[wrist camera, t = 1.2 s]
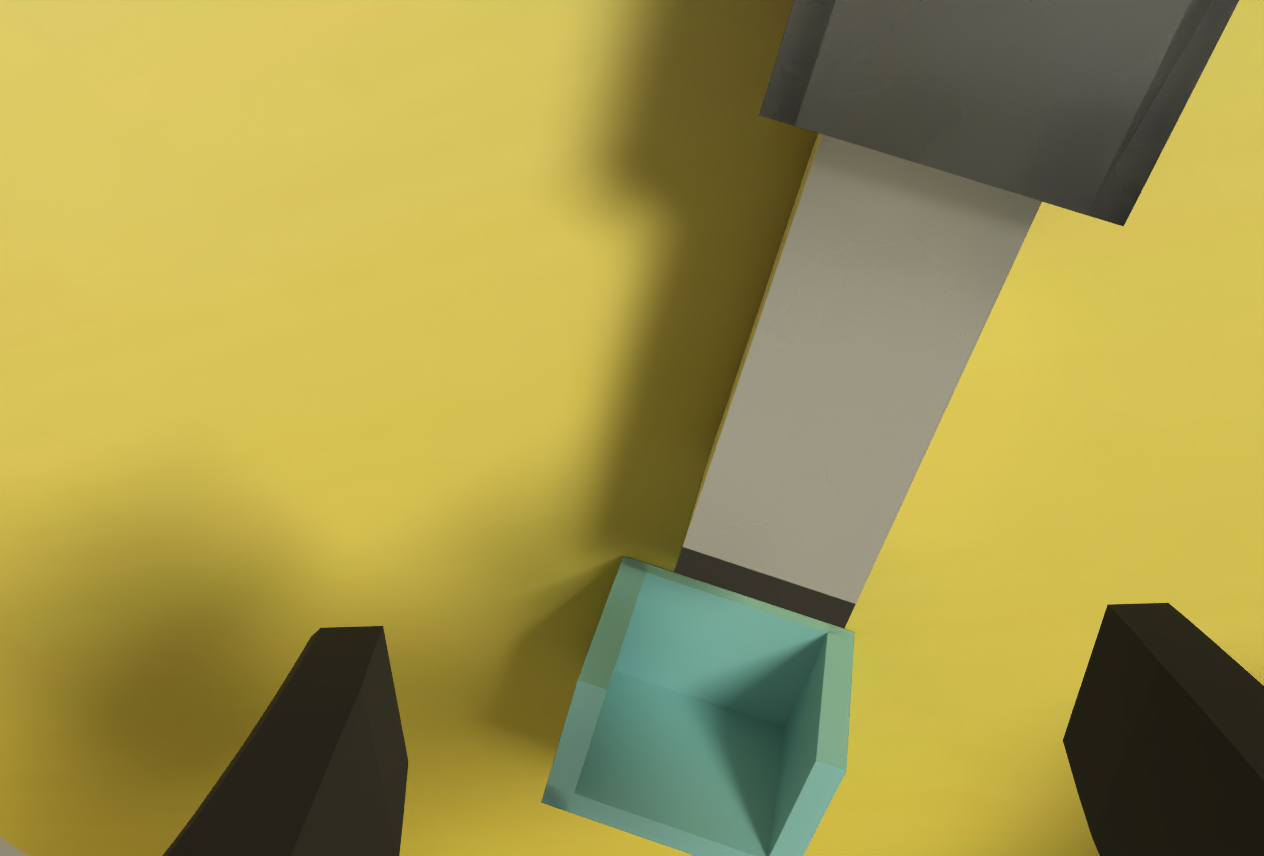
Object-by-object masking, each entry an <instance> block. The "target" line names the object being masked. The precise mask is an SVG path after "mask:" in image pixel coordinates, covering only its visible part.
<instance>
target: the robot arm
mask: <svg viewBox="0 0 1264 856" xmlns="http://www.w3.org/2000/svg"><path fill="white" fill-rule="evenodd" d="M1063 742H1064V746H1065V749H1066V753H1067V756H1068V760H1069V763H1070V767H1071V770H1072V774H1073V777H1074V781H1075V784H1076V788H1077V791H1078V795H1079V798H1080V801H1081V804H1082V807H1083V810H1084V813H1085V816H1086V820H1087V823H1088V826H1089V829H1090V832H1091V835H1092V838H1093V840H1094V843H1095V845H1096V847H1097V850H1098V852H1099V855H1100V856H1264V686H1263V685H1262V684H1261V683H1260V682H1259V681H1257V680H1256V679H1255V678H1254V677H1253V676H1252V675H1251V674H1250V673H1248V672H1247V671H1246V670H1245V669H1244V668H1243V667H1242V666H1240V665H1239V664H1238V663H1237V662H1236V661H1235V660H1234V659H1233V658H1231V657H1230V656H1229V655H1228V654H1227V653H1226V652H1225V651H1223V650H1222V649H1221V648H1220V647H1219V646H1218V645H1217V644H1216V643H1214V642H1213V641H1212V640H1211V639H1210V638H1209V637H1208V636H1206V635H1205V634H1204V633H1203V632H1202V631H1201V630H1200V629H1198V628H1197V627H1196V626H1195V625H1194V624H1193V623H1191V622H1190V621H1189V620H1188V619H1187V618H1186V617H1184V616H1183V615H1182V614H1181V613H1180V612H1178V611H1177V610H1176V609H1175V608H1174V607H1172V606H1171V605H1170V604H1169V603H1149V604H1115V605H1107V608H1106V611H1105V614H1104V618H1103V621H1102V624H1101V627H1100V630H1099V633H1098V636H1097V639H1096V642H1095V645H1094V648H1093V651H1092V654H1091V657H1090V660H1089V663H1088V666H1087V669H1086V672H1085V675H1084V678H1083V681H1082V684H1081V687H1080V690H1079V693H1078V696H1077V699H1076V702H1075V705H1074V708H1073V711H1072V714H1071V717H1070V720H1069V723H1068V726H1067V729H1066V732H1065V736H1064V739H1063ZM407 770H408V758H407V752H406V747H405V742H404V736H403V731H402V726H401V720H400V715H399V709H398V704H397V699H396V693H395V688H394V683H393V677H392V672H391V667H390V661H389V656H388V651H387V645H386V640H385V634H384V629H383V626H370V627H336V628H320V629H319V630H318V631H317V632H316V633H315V634H314V635H312V636H311V638H310V639H309V641H308V643H307V644H306V646H305V648H304V650H303V651H302V653H301V655H300V656H299V658H298V660H297V661H296V663H295V665H294V666H293V668H292V669H291V671H290V673H289V674H288V676H287V678H286V679H285V681H284V682H283V684H282V686H281V687H280V689H279V690H278V692H277V694H276V695H275V697H274V698H273V700H272V701H271V703H270V705H269V706H268V708H267V709H266V711H265V712H264V714H263V715H262V717H261V718H260V720H259V721H258V723H257V724H256V726H255V727H254V729H253V730H252V732H251V734H250V735H249V737H248V738H247V740H246V741H245V743H244V744H243V746H242V747H241V749H240V750H239V751H238V753H237V754H236V756H235V757H234V759H233V760H232V761H231V763H230V764H229V766H228V767H227V768H226V770H225V771H224V773H223V774H222V776H221V777H220V778H219V780H218V781H217V783H216V784H215V786H214V787H213V788H212V790H211V791H210V793H209V794H208V795H207V797H206V798H205V800H204V801H203V803H202V804H201V805H200V807H199V808H198V810H197V811H196V812H195V814H194V815H193V817H192V818H191V819H190V821H189V822H188V823H187V825H186V826H185V827H184V829H183V830H182V831H181V833H180V834H179V835H178V837H177V838H176V839H175V840H174V842H173V843H172V844H171V846H170V847H169V848H168V849H167V851H166V852H165V853H164V855H163V856H399V853H400V843H401V834H402V824H403V814H404V803H405V792H406V781H407Z"/></svg>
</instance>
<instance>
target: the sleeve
mask: <svg viewBox="0 0 1264 856" xmlns="http://www.w3.org/2000/svg"><path fill="white" fill-rule="evenodd" d="M1238 1H1239V0H794V3H793V6H792V9H791V13H790V16H789V19H788V22H787V26H786V29H785V32H784V36H783V39H782V42H781V45H780V49H779V52H778V55H777V59H776V62H775V65H774V68H773V72H772V75H771V78H770V82H769V85H768V88H767V91H766V95H765V98H764V101H763V105H762V108H761V111H760V114H759V115H761V116H764V117H767V118H771V119H774V120H777V121H780V122H784V123H787V124H790V125H794V126H797V127H800V128H803V129H807V130H810V131H813V132H816V133H820V134H823V135H826V136H830V137H833V138H836V139H839V140H843V141H846V142H849V143H852V144H856V145H859V146H862V147H866V148H869V149H872V150H875V151H879V152H882V153H885V154H889V155H892V156H895V157H898V158H902V159H905V160H908V161H911V162H915V163H918V164H921V165H925V166H928V167H931V168H934V169H938V170H941V171H944V172H947V173H951V174H954V175H957V176H961V177H964V178H967V179H970V180H974V181H977V182H980V183H983V184H987V185H990V186H993V187H997V188H1000V189H1003V190H1006V191H1010V192H1013V193H1016V194H1020V195H1023V196H1026V197H1029V198H1033V199H1036V200H1039V201H1042V202H1046V203H1049V204H1052V205H1056V206H1059V207H1062V208H1065V209H1069V210H1072V211H1075V212H1078V213H1082V214H1085V215H1088V216H1092V217H1095V218H1098V219H1101V220H1105V221H1108V222H1111V223H1115V224H1118V225H1121V226H1124V224H1125V222H1126V220H1127V218H1128V216H1129V214H1130V213H1131V211H1132V209H1133V207H1134V205H1135V203H1136V201H1137V199H1138V197H1139V195H1140V193H1141V191H1142V189H1143V187H1144V185H1145V183H1146V181H1147V179H1148V177H1149V175H1150V173H1151V171H1152V169H1153V168H1154V166H1155V164H1156V162H1157V160H1158V158H1159V156H1160V154H1161V152H1162V150H1163V148H1164V146H1165V144H1166V142H1167V140H1168V138H1169V136H1170V134H1171V132H1172V130H1173V128H1174V126H1175V124H1176V123H1177V121H1178V119H1179V117H1180V115H1181V113H1182V111H1183V109H1184V107H1185V105H1186V103H1187V101H1188V99H1189V97H1190V95H1191V93H1192V91H1193V89H1194V87H1195V85H1196V83H1197V81H1198V80H1199V78H1200V76H1201V74H1202V72H1203V70H1204V68H1205V66H1206V64H1207V62H1208V60H1209V58H1210V56H1211V54H1212V52H1213V50H1214V48H1215V46H1216V44H1217V42H1218V40H1219V38H1220V36H1221V35H1222V33H1223V31H1224V29H1225V27H1226V25H1227V23H1228V21H1229V19H1230V17H1231V15H1232V13H1233V11H1234V9H1235V7H1236V5H1237V3H1238Z"/></svg>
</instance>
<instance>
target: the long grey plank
mask: <svg viewBox="0 0 1264 856" xmlns="http://www.w3.org/2000/svg"><path fill="white" fill-rule="evenodd" d="M1041 202H1042V201H1039V200H1036V199H1033V198H1029V197H1026V196H1023V195H1020V194H1016V193H1013V192H1010V191H1006V190H1003V189H1000V188H997V187H993V186H990V185H987V184H983V183H980V182H977V181H974V180H970V179H967V178H964V177H961V176H957V175H954V174H951V173H947V172H944V171H941V170H938V169H934V168H931V167H928V166H925V165H921V164H918V163H915V162H911V161H908V160H905V159H902V158H898V157H895V156H892V155H889V154H885V153H882V152H879V151H875V150H872V149H869V148H866V147H862V146H859V145H856V144H852V143H849V142H846V141H843V140H839V139H836V138H833V137H830V136H826V135H823V134H820V133H818V134H817V137H816V140H815V143H814V146H813V149H812V152H811V155H810V158H809V161H808V164H807V167H806V170H805V173H804V176H803V179H802V182H801V185H800V188H799V191H798V194H797V197H796V200H795V203H794V206H793V209H792V212H791V215H790V218H789V221H788V224H787V227H786V230H785V233H784V236H783V238H782V241H781V244H780V247H779V250H778V253H777V256H776V259H775V262H774V265H773V268H772V271H771V274H770V277H769V280H768V283H767V286H766V289H765V292H764V295H763V298H762V301H761V304H760V307H759V310H758V313H757V316H756V319H755V322H754V325H753V328H752V331H751V334H750V337H749V340H748V343H747V346H746V349H745V352H744V355H743V357H742V360H741V363H740V366H739V369H738V372H737V375H736V378H735V381H734V384H733V387H732V390H731V393H730V396H729V399H728V402H727V405H726V408H725V411H724V414H723V417H722V420H721V423H720V426H719V429H718V432H717V435H716V438H715V441H714V444H713V447H712V450H711V453H710V456H709V459H708V462H707V465H706V468H705V471H704V474H703V476H702V480H701V483H700V486H699V490H698V493H697V496H696V500H695V503H694V507H693V510H692V513H691V517H690V520H689V523H688V527H687V530H686V534H685V537H684V540H683V544H682V547H681V550H680V554H679V557H678V561H677V564H676V567H675V571H674V572H675V573H678V574H681V575H684V576H687V577H690V578H693V579H696V580H699V581H702V582H705V583H708V584H711V585H714V586H717V587H721V588H724V589H727V590H730V591H733V592H736V593H739V594H742V595H745V596H748V597H751V598H754V599H757V600H760V601H763V602H766V603H769V604H772V605H775V606H778V607H781V608H784V609H787V610H790V611H793V612H796V613H799V614H802V615H805V616H808V617H811V618H814V619H817V620H820V621H823V622H826V623H829V624H832V625H835V626H838V627H841V628H845V626H846V624H847V621H848V619H849V617H850V615H851V613H852V611H853V608H854V606H855V604H856V602H857V600H858V598H859V595H860V593H861V591H862V589H863V587H864V585H865V583H866V580H867V578H868V576H869V574H870V572H871V570H872V567H873V565H874V563H875V561H876V559H877V557H878V554H879V552H880V550H881V548H882V546H883V544H884V541H885V539H886V537H887V535H888V533H889V531H890V529H891V526H892V524H893V522H894V520H895V518H896V516H897V513H898V511H899V509H900V507H901V505H902V503H903V500H904V498H905V496H906V494H907V492H908V490H909V487H910V485H911V483H912V481H913V479H914V477H915V474H916V472H917V470H918V468H919V466H920V464H921V462H922V459H923V457H924V455H925V453H926V451H927V449H928V446H929V444H930V442H931V440H932V438H933V436H934V433H935V431H936V429H937V427H938V425H939V423H940V420H941V418H942V416H943V414H944V412H945V410H946V408H947V405H948V403H949V401H950V399H951V397H952V395H953V392H954V390H955V388H956V386H957V384H958V382H959V379H960V377H961V375H962V373H963V371H964V369H965V366H966V364H967V362H968V360H969V358H970V356H971V354H972V351H973V349H974V347H975V345H976V343H977V341H978V338H979V336H980V334H981V332H982V330H983V328H984V325H985V323H986V321H987V319H988V317H989V315H990V312H991V310H992V308H993V306H994V304H995V302H996V299H997V297H998V295H999V293H1000V291H1001V289H1002V287H1003V284H1004V282H1005V280H1006V278H1007V276H1008V274H1009V271H1010V269H1011V267H1012V265H1013V263H1014V261H1015V258H1016V256H1017V254H1018V252H1019V250H1020V248H1021V245H1022V243H1023V241H1024V239H1025V237H1026V235H1027V233H1028V230H1029V228H1030V226H1031V224H1032V222H1033V220H1034V217H1035V215H1036V213H1037V211H1038V209H1039V207H1040V204H1041Z"/></svg>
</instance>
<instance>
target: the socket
mask: <svg viewBox="0 0 1264 856" xmlns="http://www.w3.org/2000/svg"><path fill="white" fill-rule="evenodd" d="M853 649H854V632H851V631H848V630H845V629H842V628H839V627H836V626H833V625H830V624H827V623H824V622H821V621H818V620H815V619H812V618H809V617H806V616H803V615H800V614H797V613H794V612H791V611H788V610H785V609H782V608H779V607H776V606H773V605H770V604H767V603H764V602H761V601H758V600H755V599H752V598H749V597H746V596H743V595H740V594H737V593H734V592H731V591H728V590H725V589H722V588H719V587H716V586H713V585H710V584H707V583H704V582H701V581H698V580H695V579H692V578H689V577H686V576H683V575H680V574H677V573H674V572H671V571H668V570H664V569H661V568H658V567H655V566H652V565H649V564H646V563H643V562H640V561H637V560H634V559H631V558H628V557H625V556H623V558H622V561H621V564H620V567H619V569H618V572H617V575H616V577H615V580H614V583H613V586H612V588H611V591H610V594H609V596H608V599H607V602H606V605H605V607H604V610H603V613H602V615H601V618H600V621H599V624H598V626H597V629H596V632H595V634H594V637H593V640H592V643H591V645H590V648H589V651H588V653H587V656H586V659H585V662H584V664H583V667H582V670H581V672H580V675H579V678H578V681H577V684H576V687H575V691H574V694H573V697H572V701H571V704H570V708H569V711H568V714H567V718H566V721H565V724H564V728H563V731H562V734H561V738H560V741H559V744H558V748H557V751H556V755H555V758H554V761H553V765H552V768H551V771H550V775H549V778H548V781H547V785H546V788H545V791H544V795H543V798H542V803H544V804H547V805H550V806H553V807H556V808H559V809H562V810H565V811H568V812H570V813H573V814H576V815H579V816H582V817H585V818H588V819H591V820H593V821H596V822H599V823H602V824H605V825H608V826H611V827H614V828H617V829H619V830H622V831H625V832H628V833H631V834H634V835H637V836H640V837H643V838H645V839H648V840H651V841H654V842H657V843H660V844H663V845H666V846H668V847H671V848H674V849H677V850H680V851H683V852H686V853H689V854H692V855H694V856H803V854H804V852H805V851H806V849H807V847H808V845H809V843H810V841H811V839H812V837H813V835H814V833H815V831H816V829H817V827H818V825H819V823H820V821H821V819H822V817H823V815H824V813H825V811H826V810H827V808H828V806H829V804H830V802H831V800H832V798H833V796H834V794H835V792H836V790H837V788H838V786H839V784H840V782H841V780H842V778H843V776H844V774H845V772H846V767H847V750H848V734H849V717H850V700H851V683H852V666H853Z"/></svg>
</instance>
